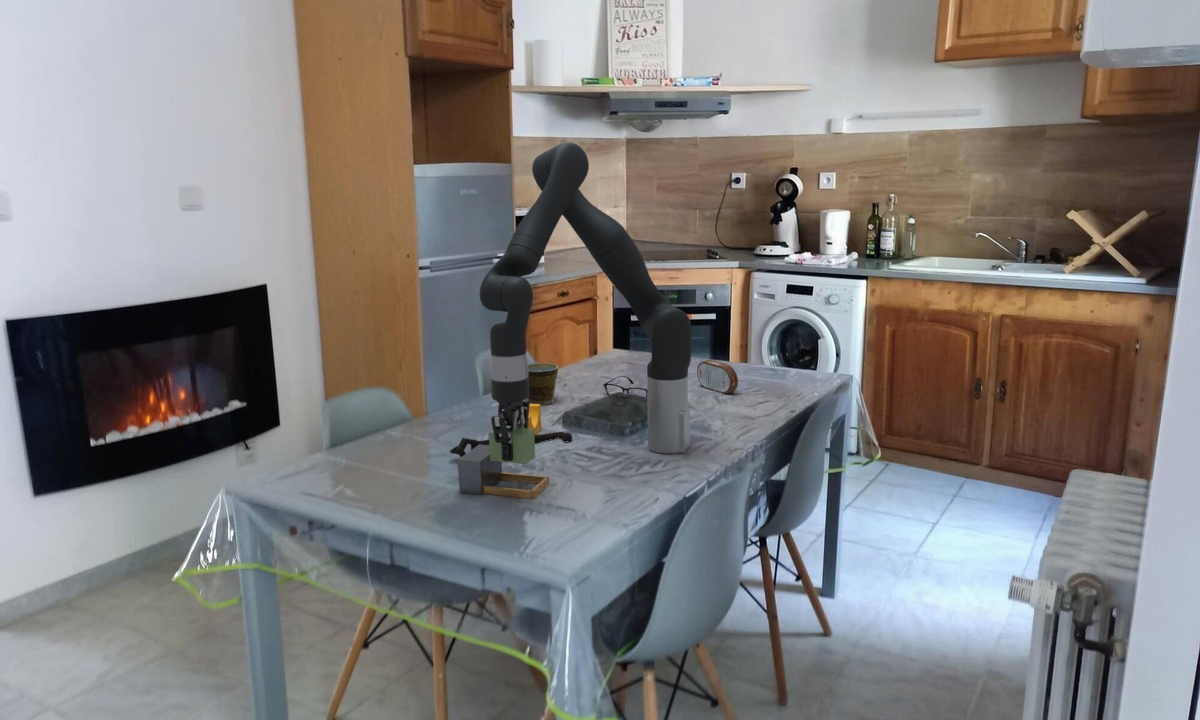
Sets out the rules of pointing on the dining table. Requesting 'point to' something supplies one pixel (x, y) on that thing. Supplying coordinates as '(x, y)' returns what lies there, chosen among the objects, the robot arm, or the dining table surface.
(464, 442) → the wrench
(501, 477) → the grey block with frame
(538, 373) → the ceramic cup
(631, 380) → the eyeglasses
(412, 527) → the dining table surface
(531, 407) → the pipe clamp
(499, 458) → the sage green upright block
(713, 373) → the tin
